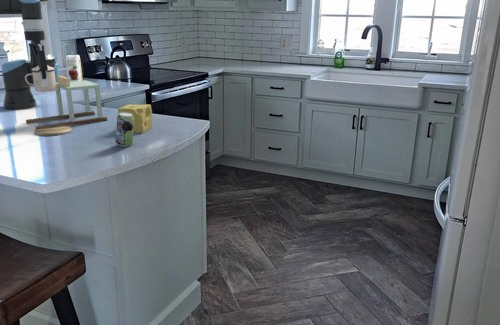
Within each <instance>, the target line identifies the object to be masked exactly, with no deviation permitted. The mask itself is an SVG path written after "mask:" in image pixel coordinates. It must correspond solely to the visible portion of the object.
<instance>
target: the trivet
mask: <svg viewBox="0 0 500 325" xmlns="http://www.w3.org/2000/svg"><path fill="white" fill-rule="evenodd" d="M72 131H73V129H72V126H54V127H47V128H40V129H37V130H36V129H35V130H34V133H35V135H37V136H40V137H55V136H61V135H66V134H70V133H71V132H72ZM65 133H66V134H65Z"/></svg>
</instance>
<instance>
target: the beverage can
mask: <svg viewBox="0 0 500 325" xmlns="http://www.w3.org/2000/svg"><path fill="white" fill-rule="evenodd" d="M133 130H134V117H133V114H131V113H119V115H117V117H116V128H115V144H117V145H118V146H120V147H130V146H131V145H132V144H133V141H134V132H133Z"/></svg>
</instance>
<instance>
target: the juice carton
mask: <svg viewBox="0 0 500 325" xmlns="http://www.w3.org/2000/svg"><path fill="white" fill-rule="evenodd" d="M81 62H82V61H81V57H80V54H73V55H72V54H71V55H70V54H69V55H66V56H65V66H66V74H67V78H69V81H70V82H73V81H84V79H83V71H82V63H81Z"/></svg>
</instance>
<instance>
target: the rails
mask: <svg viewBox="0 0 500 325" xmlns="http://www.w3.org/2000/svg"><path fill="white" fill-rule="evenodd" d="M95 114H96V113H95V111H93V110H90V112H86V111H84V112H83V111H82V112H74V117H75V118H81V117H88V116H95ZM63 115H64V116H59V114H58V115H53V116H43V117H38V118H30V119H29V118H28V119H25V123H26V125H30V124H36V123H44V122H51V121H59V120H65V118H67V119H70V118H69V113H67V114H63ZM106 121H107V122H108V117H107V116H103V118H98V117H94V118H93V117H92V118H84V119H80V120H79V119H77V120H75V122H70V121H64V122H56V123H49V124H43V125H37V126H36V125H35V126H34V127H35V131H36V130H37V129H40V128H47V127H54V126H68V127H73V126H79V125H86V124H94V123H100V122H106Z"/></svg>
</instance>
